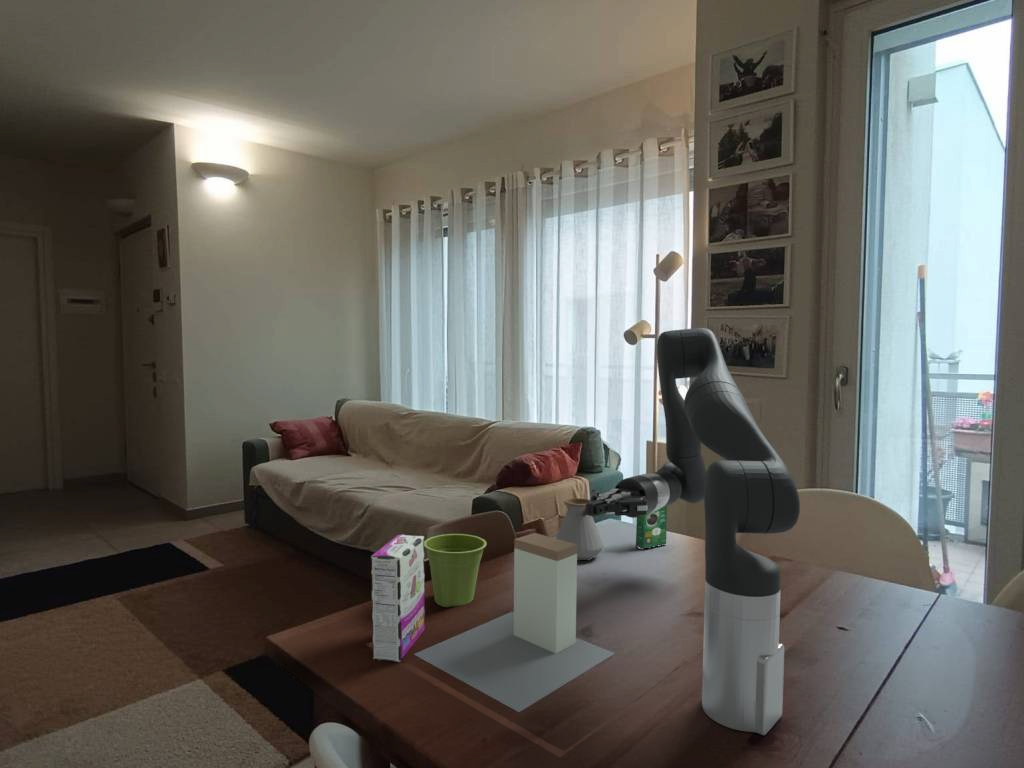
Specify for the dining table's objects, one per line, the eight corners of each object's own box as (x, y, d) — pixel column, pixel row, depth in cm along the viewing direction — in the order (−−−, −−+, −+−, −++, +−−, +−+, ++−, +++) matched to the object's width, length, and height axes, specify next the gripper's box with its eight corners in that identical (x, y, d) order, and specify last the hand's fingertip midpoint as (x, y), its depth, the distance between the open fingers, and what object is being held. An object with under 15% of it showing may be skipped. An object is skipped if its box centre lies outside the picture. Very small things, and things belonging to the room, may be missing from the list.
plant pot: (471, 618, 110) (472, 555, 109) (411, 608, 113) (412, 548, 113) (495, 593, 121) (495, 537, 120) (439, 585, 125) (440, 530, 124)
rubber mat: (615, 657, 96) (615, 653, 96) (518, 716, 80) (518, 712, 80) (511, 614, 111) (511, 611, 111) (413, 658, 95) (413, 654, 95)
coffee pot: (551, 547, 150) (552, 486, 149) (599, 548, 150) (600, 487, 149) (558, 580, 128) (559, 508, 128) (614, 580, 128) (615, 509, 128)
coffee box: (658, 542, 155) (660, 490, 154) (667, 545, 153) (668, 492, 152) (634, 547, 151) (635, 494, 150) (643, 550, 148) (644, 496, 148)
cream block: (575, 642, 99) (577, 544, 99) (555, 653, 96) (557, 551, 95) (533, 625, 106) (534, 532, 105) (513, 635, 102) (514, 539, 101)
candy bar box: (397, 628, 105) (397, 533, 104) (425, 631, 104) (426, 535, 103) (369, 660, 94) (369, 554, 93) (400, 664, 93) (400, 556, 92)
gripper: (614, 470, 125) (560, 483, 113) (673, 480, 116) (621, 495, 104) (613, 507, 126) (559, 523, 113) (672, 519, 117) (621, 539, 104)
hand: (589, 510), depth 108 cm, fingers closed
